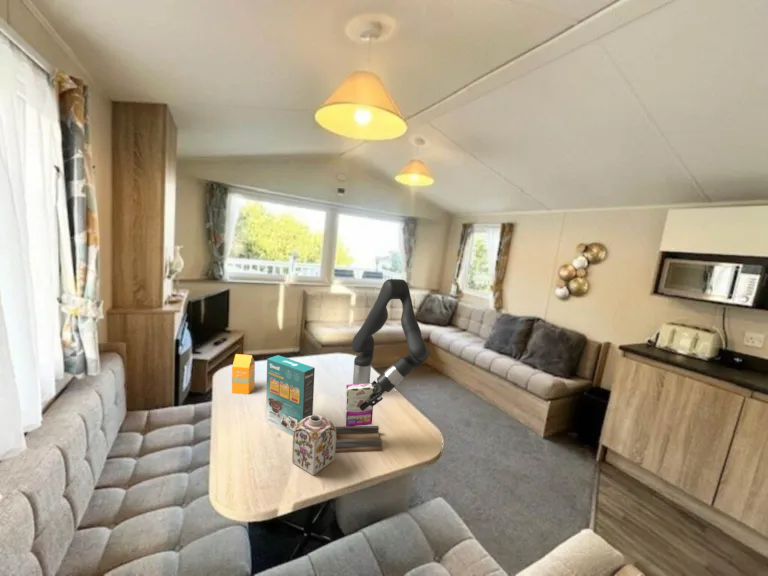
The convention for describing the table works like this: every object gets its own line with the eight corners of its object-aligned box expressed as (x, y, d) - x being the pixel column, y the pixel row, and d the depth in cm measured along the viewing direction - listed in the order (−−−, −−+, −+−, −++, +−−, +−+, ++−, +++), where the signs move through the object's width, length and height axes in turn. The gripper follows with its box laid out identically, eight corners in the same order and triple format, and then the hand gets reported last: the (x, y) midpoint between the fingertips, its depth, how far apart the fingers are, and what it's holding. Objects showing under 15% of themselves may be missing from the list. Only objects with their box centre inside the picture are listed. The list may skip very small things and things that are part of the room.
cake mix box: (311, 433, 146) (314, 367, 141) (301, 440, 140) (304, 372, 136) (276, 416, 156) (278, 355, 152) (265, 422, 151) (267, 358, 147)
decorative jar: (291, 462, 127) (292, 418, 124) (313, 448, 136) (315, 406, 133) (313, 477, 120) (316, 430, 117) (335, 460, 130) (338, 417, 127)
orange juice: (248, 394, 175) (249, 357, 172) (231, 393, 175) (231, 356, 172) (254, 387, 183) (255, 352, 180) (238, 386, 183) (238, 351, 180)
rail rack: (331, 432, 148) (332, 424, 147) (377, 430, 151) (377, 423, 151) (332, 452, 134) (332, 444, 134) (381, 450, 138) (382, 442, 137)
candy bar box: (369, 418, 145) (372, 382, 143) (372, 424, 140) (374, 387, 138) (343, 420, 142) (345, 383, 140) (345, 427, 138) (347, 389, 135)
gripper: (382, 365, 147) (353, 391, 147) (387, 379, 133) (355, 408, 133) (393, 377, 148) (364, 402, 148) (399, 392, 134) (368, 420, 134)
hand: (360, 405), depth 140 cm, fingers closed on candy bar box, 5 cm apart
